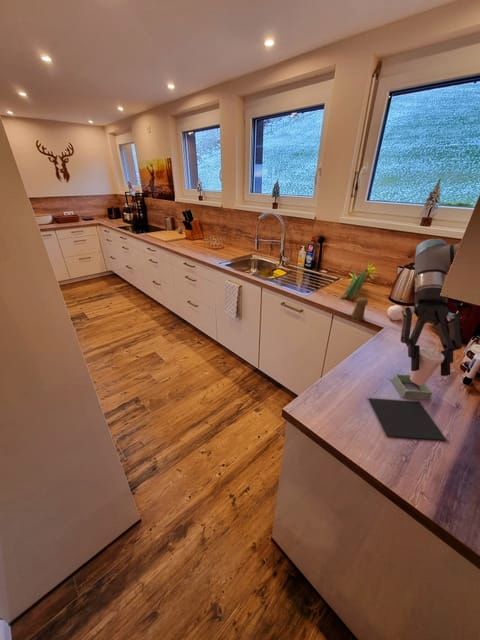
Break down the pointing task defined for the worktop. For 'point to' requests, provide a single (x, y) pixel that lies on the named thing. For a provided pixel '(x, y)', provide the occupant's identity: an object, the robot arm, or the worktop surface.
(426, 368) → the smoothie
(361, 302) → the brown tapered tower
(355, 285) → the daffodil flowers
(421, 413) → the mat
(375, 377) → the worktop surface
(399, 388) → the holder
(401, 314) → the geometric ball
